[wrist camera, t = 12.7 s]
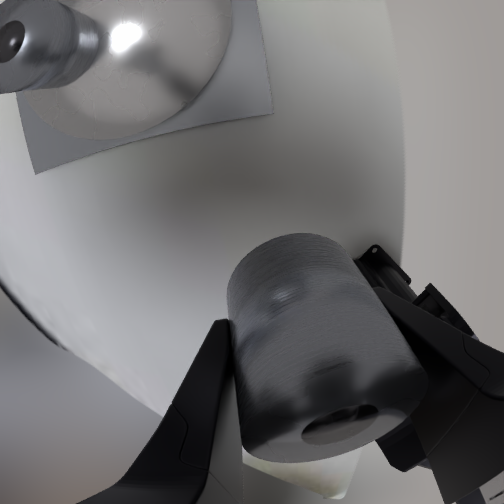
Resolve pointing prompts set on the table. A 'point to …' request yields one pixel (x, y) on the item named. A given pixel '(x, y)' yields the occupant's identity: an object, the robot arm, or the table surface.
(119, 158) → the table surface
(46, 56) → the cylinder
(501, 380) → the robot arm
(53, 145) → the scale
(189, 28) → the scale pan
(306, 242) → the cylinder
